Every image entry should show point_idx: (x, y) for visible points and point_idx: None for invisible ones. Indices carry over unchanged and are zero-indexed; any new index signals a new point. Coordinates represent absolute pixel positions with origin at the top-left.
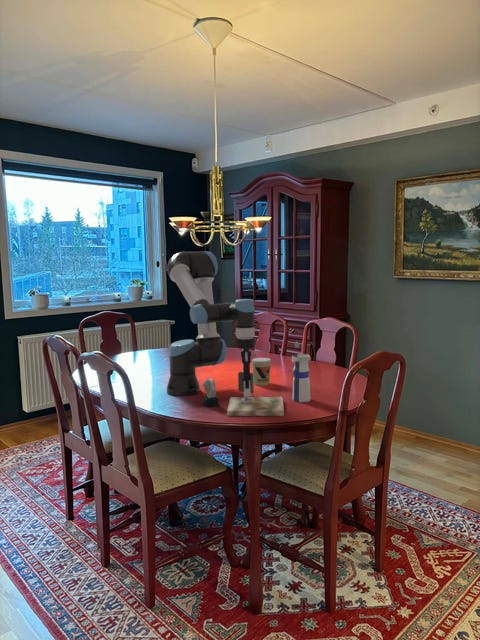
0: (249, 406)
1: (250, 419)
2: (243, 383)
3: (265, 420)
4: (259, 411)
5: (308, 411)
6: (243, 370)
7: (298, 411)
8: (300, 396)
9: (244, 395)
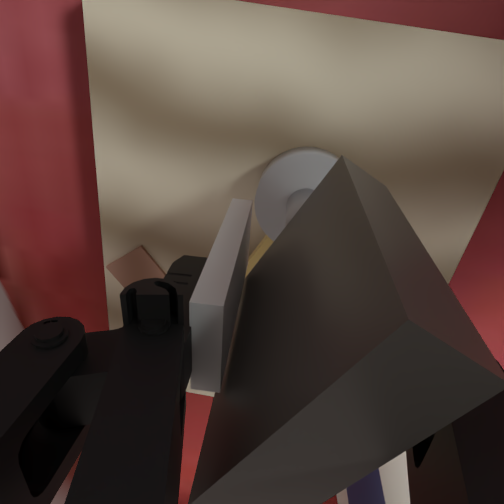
0: (202, 207)
1: (40, 176)
2: (296, 268)
3: (37, 260)
4: (105, 256)
5: (189, 450)
6: (462, 477)
7: (191, 421)
8: (342, 493)
9: (230, 206)
